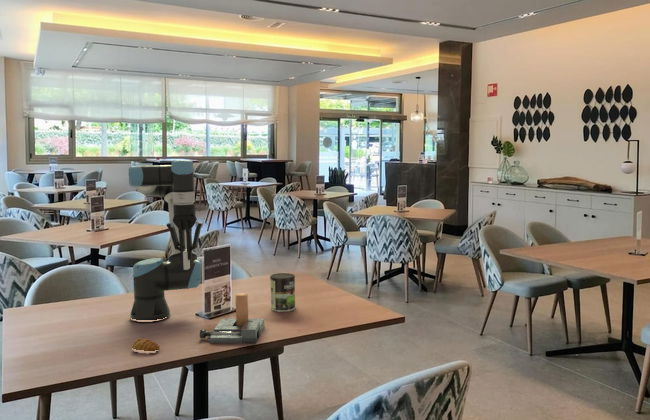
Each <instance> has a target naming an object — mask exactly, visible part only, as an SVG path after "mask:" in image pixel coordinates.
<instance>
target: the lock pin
mask: <svg viewBox="0 0 650 420" xmlns="http://www.w3.org/2000/svg"><path fill="white" fill-rule="evenodd" d="M212 335H241V332H214V330H213V331H211V330H210V331H207V329H200V330H199V338H200V339H206V338H208V337H211V336H212Z"/></svg>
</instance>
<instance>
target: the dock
mask: <svg viewBox="0 0 650 420" xmlns="http://www.w3.org/2000/svg"><path fill="white" fill-rule="evenodd" d="M264 329H265V318H248V322H246V323H245V324H244V326H236V317H235V318H228V317H227V318H223V317H222V318H221V320H220V321H219V322H218V323H217V325H216V326H215V327H214V329H213V331H214V332H241V335H212V336H211V337H207V339H206V340H207V342H209V343H210V344H257V342H258V339H259V338H260V336H261V335H262V333H263V330H264Z"/></svg>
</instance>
